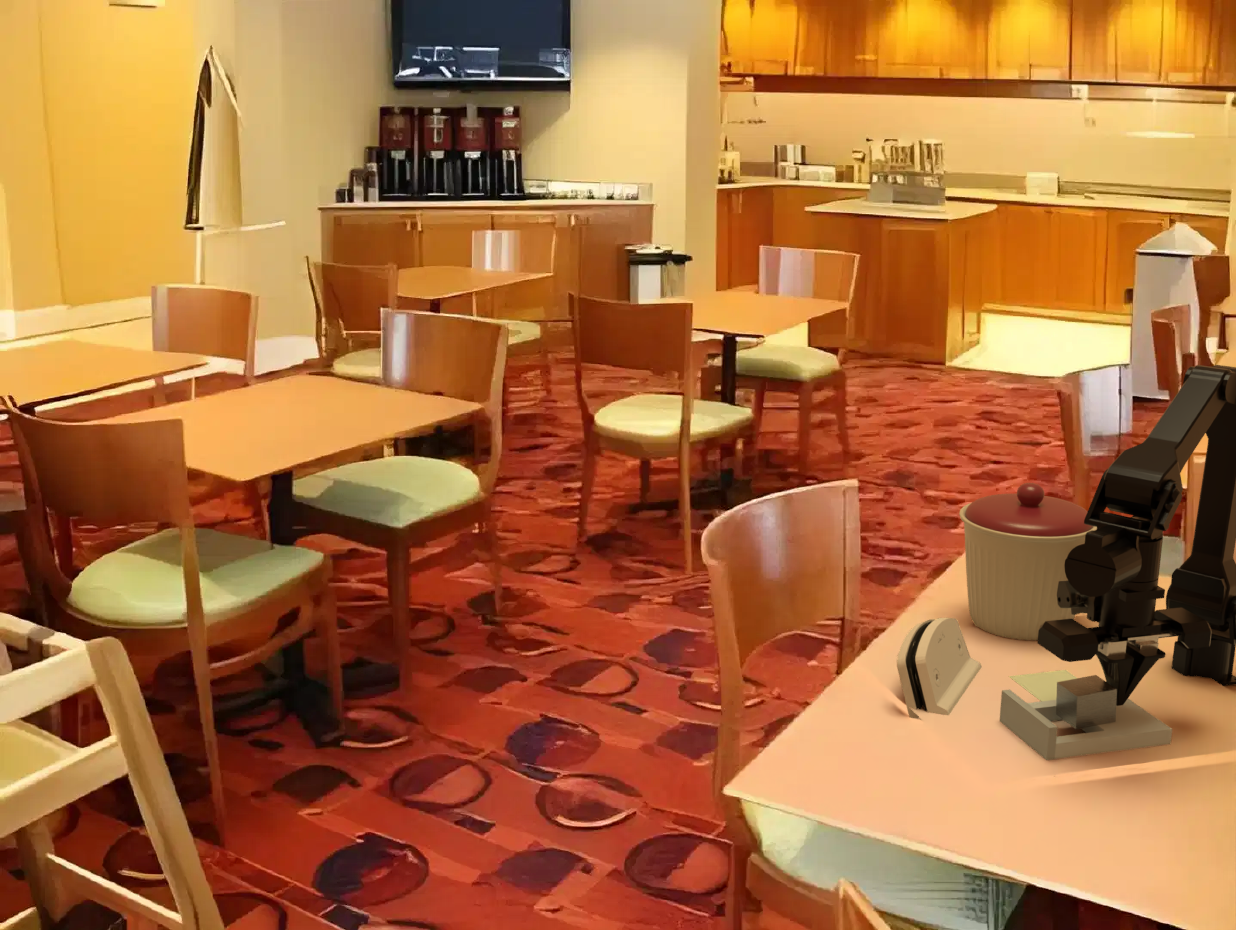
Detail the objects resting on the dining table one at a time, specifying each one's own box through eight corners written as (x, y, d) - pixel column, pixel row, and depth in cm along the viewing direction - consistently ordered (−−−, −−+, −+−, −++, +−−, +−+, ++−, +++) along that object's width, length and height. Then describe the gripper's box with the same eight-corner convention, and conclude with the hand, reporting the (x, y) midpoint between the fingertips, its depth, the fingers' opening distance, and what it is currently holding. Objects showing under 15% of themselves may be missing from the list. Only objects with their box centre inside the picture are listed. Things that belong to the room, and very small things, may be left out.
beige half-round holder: (950, 726, 158) (926, 646, 157) (912, 731, 160) (888, 652, 159) (985, 675, 172) (963, 601, 171) (949, 679, 174) (928, 606, 174)
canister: (968, 599, 198) (977, 460, 193) (1097, 619, 190) (1111, 475, 185) (938, 642, 182) (947, 492, 177) (1077, 666, 175) (1092, 510, 169)
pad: (1065, 678, 171) (1065, 669, 171) (1101, 705, 163) (1102, 695, 163) (1007, 685, 169) (1008, 676, 169) (1042, 712, 161) (1043, 703, 161)
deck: (1116, 715, 161) (1120, 676, 159) (1169, 753, 151) (1174, 712, 150) (998, 730, 157) (1001, 690, 156) (1045, 770, 148) (1049, 728, 146)
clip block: (1094, 706, 156) (1095, 674, 155) (1115, 721, 152) (1116, 689, 151) (1056, 714, 154) (1056, 682, 153) (1076, 729, 151) (1077, 696, 150)
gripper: (1158, 545, 160) (1145, 668, 164) (1017, 558, 155) (1006, 684, 159) (1222, 576, 149) (1206, 706, 153) (1072, 590, 145) (1059, 724, 149)
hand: (1117, 704), depth 154 cm, fingers closed
